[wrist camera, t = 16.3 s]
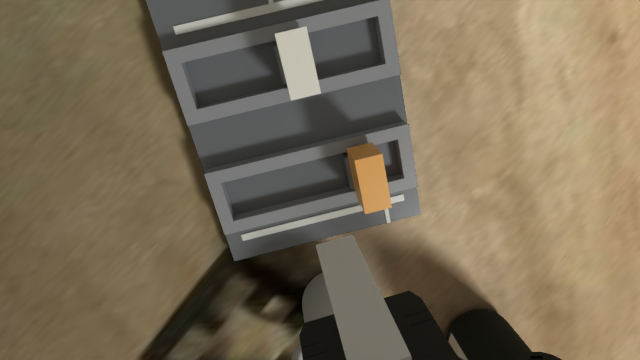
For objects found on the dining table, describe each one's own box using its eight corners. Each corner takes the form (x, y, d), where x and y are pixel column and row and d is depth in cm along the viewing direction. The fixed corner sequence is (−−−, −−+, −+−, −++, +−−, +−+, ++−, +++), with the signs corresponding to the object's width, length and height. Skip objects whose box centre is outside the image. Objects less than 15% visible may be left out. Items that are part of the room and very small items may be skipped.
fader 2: (350, 191, 41) (361, 215, 36) (340, 144, 39) (350, 161, 34) (379, 184, 41) (395, 206, 36) (370, 137, 40) (385, 152, 34)
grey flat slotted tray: (236, 251, 44) (233, 268, 41) (149, -6, 36) (136, -11, 32) (414, 206, 45) (425, 220, 42) (373, -58, 36) (383, -68, 33)
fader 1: (285, 92, 37) (287, 101, 32) (270, 35, 36) (270, 34, 30) (317, 84, 37) (324, 92, 32) (304, 27, 36) (310, 25, 30)
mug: (341, 252, 46) (361, 314, 36) (388, 296, 49) (420, 367, 38) (264, 319, 48) (262, 396, 37) (314, 358, 50) (325, 441, 40)
